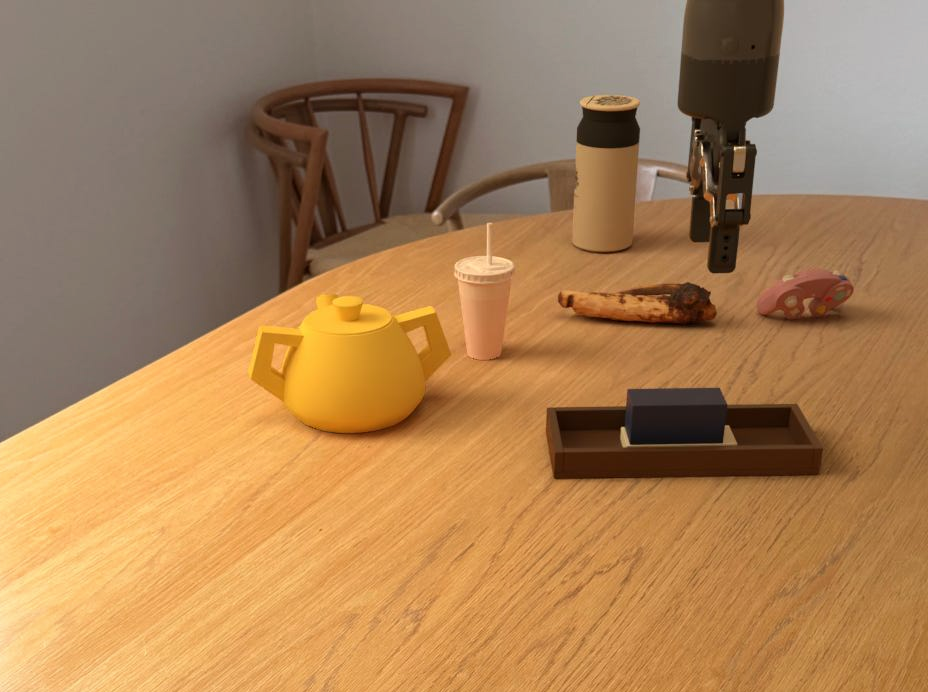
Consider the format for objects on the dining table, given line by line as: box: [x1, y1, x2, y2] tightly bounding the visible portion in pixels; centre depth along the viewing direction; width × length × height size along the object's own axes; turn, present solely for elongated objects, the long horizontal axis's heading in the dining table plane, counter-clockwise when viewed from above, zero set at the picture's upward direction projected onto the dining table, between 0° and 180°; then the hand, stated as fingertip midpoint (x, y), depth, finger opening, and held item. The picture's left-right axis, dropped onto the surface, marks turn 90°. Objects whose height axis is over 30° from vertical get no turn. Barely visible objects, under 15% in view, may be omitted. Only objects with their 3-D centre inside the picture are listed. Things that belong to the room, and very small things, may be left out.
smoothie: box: [453, 222, 516, 361], centre depth 132 cm, size 6×6×14 cm
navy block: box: [620, 387, 737, 447], centre depth 114 cm, size 10×4×5 cm, turn 91°
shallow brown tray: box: [545, 403, 824, 479], centre depth 115 cm, size 24×10×3 cm, turn 91°
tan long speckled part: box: [557, 281, 718, 325], centre depth 144 cm, size 9×5×18 cm
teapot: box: [247, 293, 453, 434], centre depth 123 cm, size 20×18×11 cm
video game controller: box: [756, 268, 855, 321], centre depth 143 cm, size 10×5×7 cm, turn 104°
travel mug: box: [571, 94, 641, 254], centre depth 162 cm, size 8×8×18 cm
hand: (710, 255), depth 106 cm, fingers open, 8 cm apart
